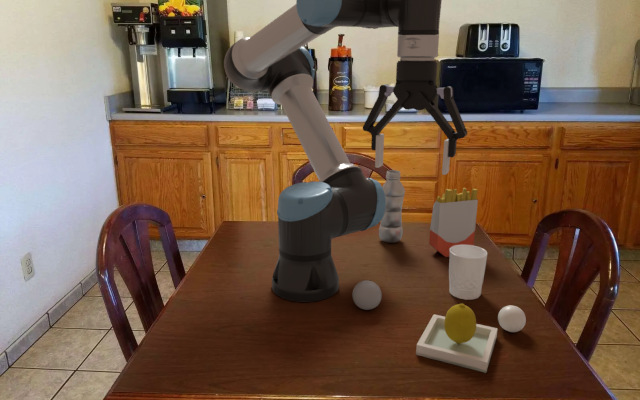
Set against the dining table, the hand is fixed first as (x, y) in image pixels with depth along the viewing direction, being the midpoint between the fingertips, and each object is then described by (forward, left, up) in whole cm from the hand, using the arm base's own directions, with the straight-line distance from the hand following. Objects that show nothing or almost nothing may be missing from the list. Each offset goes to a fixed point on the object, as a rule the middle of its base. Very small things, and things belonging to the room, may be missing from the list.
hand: (411, 169), depth 102 cm
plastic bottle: (-14, +32, -29) cm, 45 cm away
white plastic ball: (+22, -3, -29) cm, 36 cm away
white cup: (+11, +9, -29) cm, 32 cm away
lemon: (+14, -13, -28) cm, 34 cm away
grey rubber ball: (-6, -7, -29) cm, 30 cm away
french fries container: (+3, +31, -29) cm, 42 cm away
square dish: (+14, -13, -29) cm, 34 cm away
